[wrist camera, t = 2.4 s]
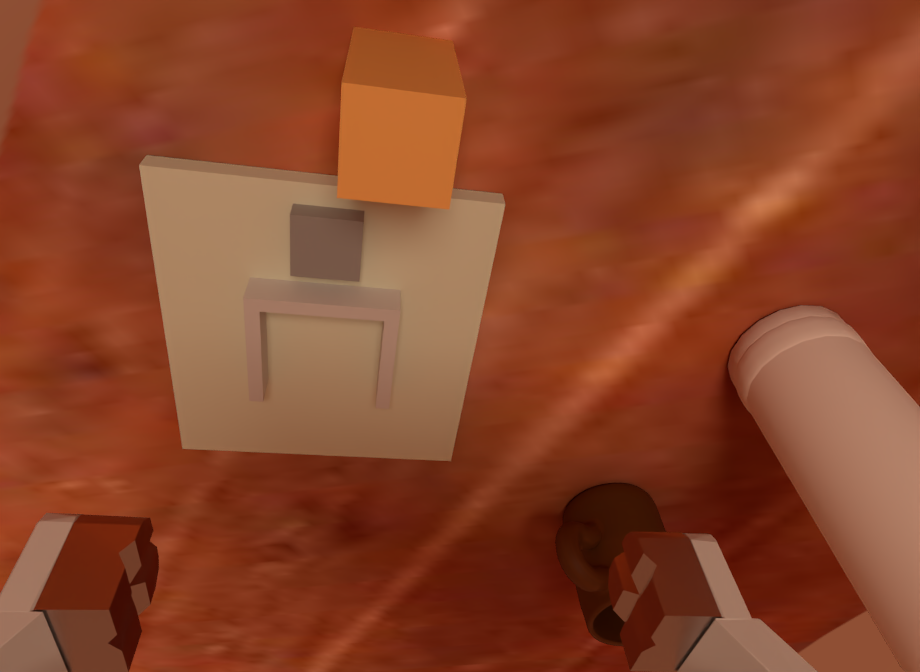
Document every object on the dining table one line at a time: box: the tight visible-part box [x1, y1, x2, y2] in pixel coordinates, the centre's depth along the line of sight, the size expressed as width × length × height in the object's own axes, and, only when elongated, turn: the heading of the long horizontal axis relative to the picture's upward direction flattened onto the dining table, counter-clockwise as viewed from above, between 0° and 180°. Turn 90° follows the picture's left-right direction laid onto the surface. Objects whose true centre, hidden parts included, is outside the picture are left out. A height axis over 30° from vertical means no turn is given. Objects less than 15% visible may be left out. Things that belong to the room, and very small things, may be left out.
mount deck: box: [139, 155, 505, 461], centre depth 39 cm, size 20×18×3 cm
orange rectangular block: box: [337, 27, 467, 210], centre depth 28 cm, size 4×4×8 cm
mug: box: [555, 483, 666, 646], centre depth 48 cm, size 12×8×9 cm, turn 44°
